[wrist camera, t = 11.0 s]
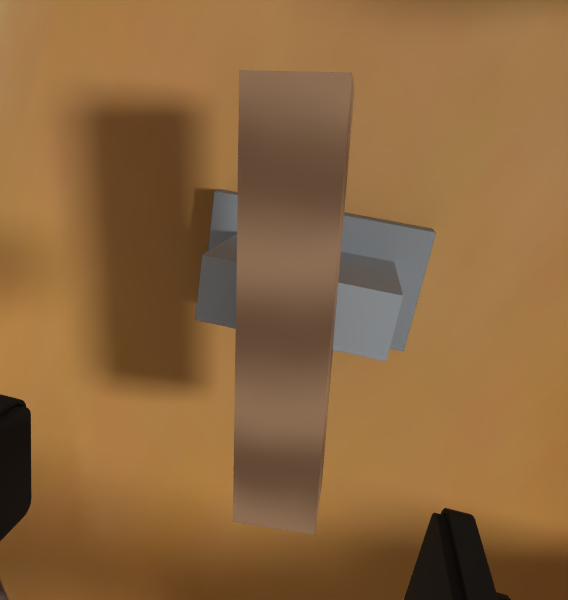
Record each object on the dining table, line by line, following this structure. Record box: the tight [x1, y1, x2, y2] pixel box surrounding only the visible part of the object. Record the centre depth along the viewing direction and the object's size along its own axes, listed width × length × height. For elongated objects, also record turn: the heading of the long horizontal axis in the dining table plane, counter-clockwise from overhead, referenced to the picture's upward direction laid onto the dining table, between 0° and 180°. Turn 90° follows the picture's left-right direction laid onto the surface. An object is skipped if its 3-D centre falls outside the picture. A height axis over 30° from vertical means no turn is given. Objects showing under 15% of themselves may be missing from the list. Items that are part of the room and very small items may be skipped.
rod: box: [233, 70, 354, 535], centre depth 21 cm, size 20×4×4 cm, turn 177°
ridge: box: [195, 189, 436, 361], centre depth 28 cm, size 8×14×9 cm, turn 81°
